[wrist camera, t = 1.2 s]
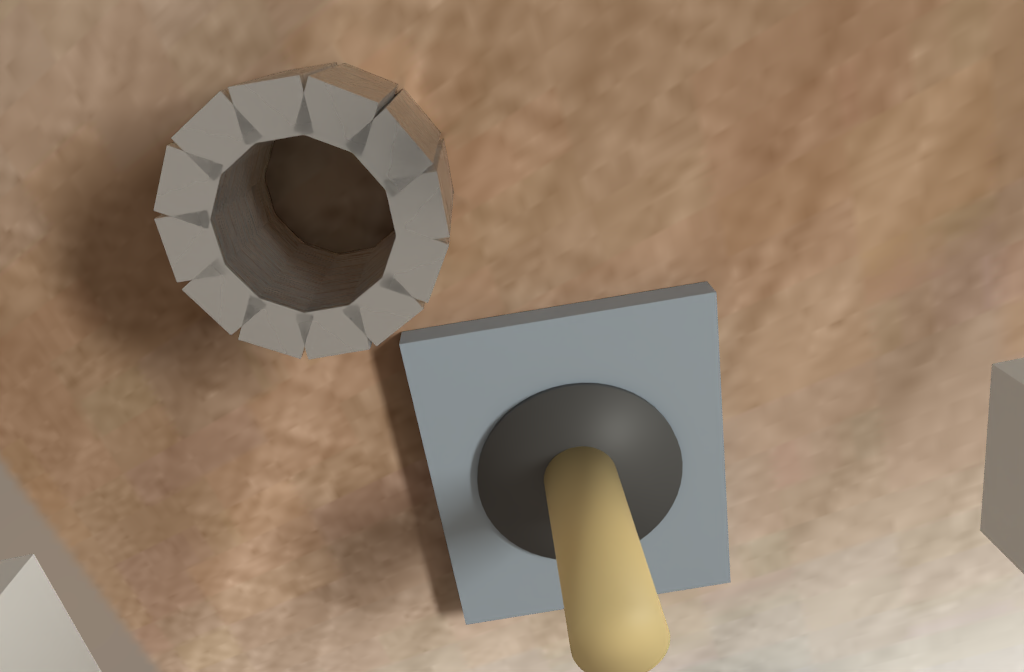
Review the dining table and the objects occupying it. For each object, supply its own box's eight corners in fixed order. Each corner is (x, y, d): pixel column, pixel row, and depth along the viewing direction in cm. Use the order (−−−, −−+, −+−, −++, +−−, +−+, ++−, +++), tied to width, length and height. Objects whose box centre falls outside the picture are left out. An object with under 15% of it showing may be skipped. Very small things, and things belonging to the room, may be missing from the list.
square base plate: (401, 331, 29) (369, 482, 20) (706, 281, 29) (821, 409, 19) (466, 605, 34) (465, 824, 25) (722, 564, 34) (816, 769, 25)
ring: (192, 86, 25) (113, 106, 19) (426, 46, 25) (414, 55, 19) (261, 305, 28) (210, 375, 23) (468, 270, 28) (468, 333, 23)
